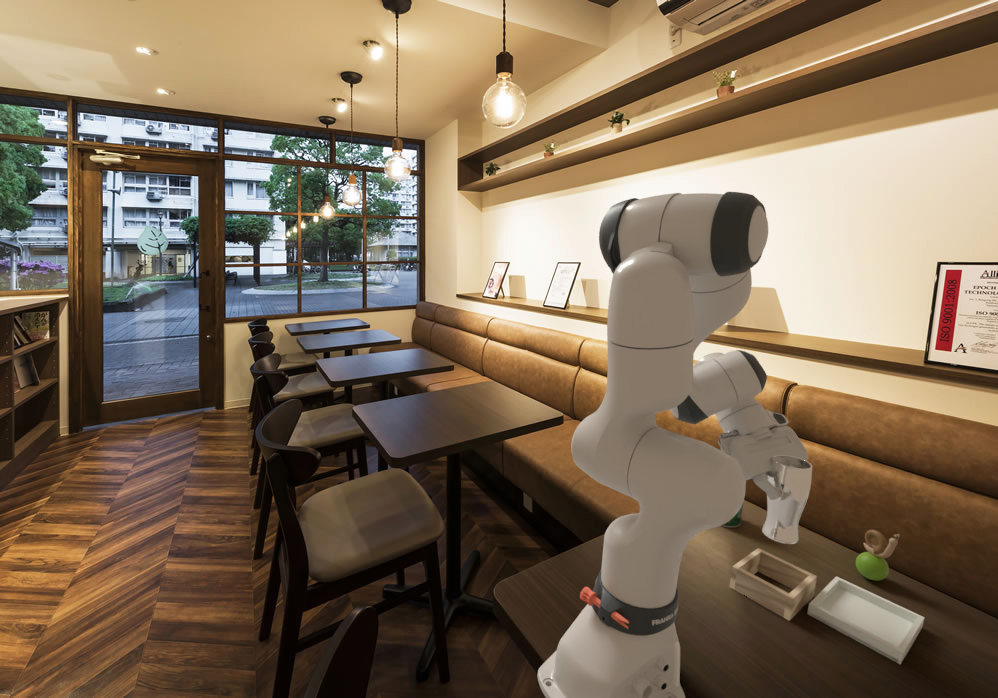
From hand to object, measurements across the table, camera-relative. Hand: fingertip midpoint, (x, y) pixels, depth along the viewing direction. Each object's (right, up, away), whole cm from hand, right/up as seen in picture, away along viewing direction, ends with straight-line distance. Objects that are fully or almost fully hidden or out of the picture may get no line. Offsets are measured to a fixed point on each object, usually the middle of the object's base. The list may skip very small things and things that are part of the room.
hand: (790, 494), depth 89 cm
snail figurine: (+23, -21, +10) cm, 32 cm away
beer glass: (-1, -9, +2) cm, 9 cm away
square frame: (-1, -21, +4) cm, 21 cm away
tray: (+12, -22, -2) cm, 25 cm away
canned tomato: (+2, -16, +31) cm, 35 cm away
